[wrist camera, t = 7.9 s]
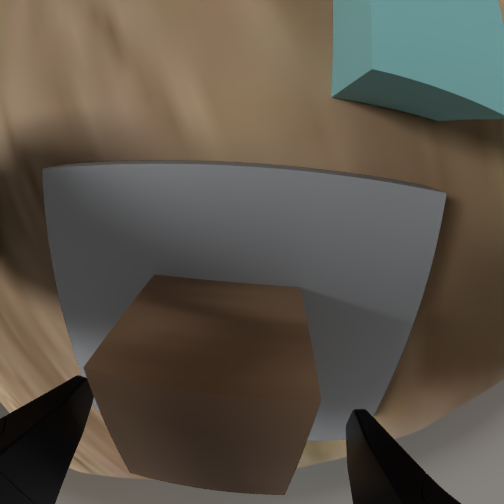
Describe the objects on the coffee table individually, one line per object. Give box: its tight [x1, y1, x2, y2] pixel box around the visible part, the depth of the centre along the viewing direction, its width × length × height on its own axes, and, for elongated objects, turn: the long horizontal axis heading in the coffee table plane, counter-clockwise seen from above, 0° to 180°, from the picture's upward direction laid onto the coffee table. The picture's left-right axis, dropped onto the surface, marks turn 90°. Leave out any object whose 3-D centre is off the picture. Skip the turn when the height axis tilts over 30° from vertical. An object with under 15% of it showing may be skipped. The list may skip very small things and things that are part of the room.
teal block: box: [331, 0, 504, 121], centre depth 7 cm, size 5×5×5 cm
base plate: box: [42, 160, 447, 441], centre depth 13 cm, size 16×14×2 cm
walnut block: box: [83, 274, 321, 495], centre depth 9 cm, size 6×6×6 cm
